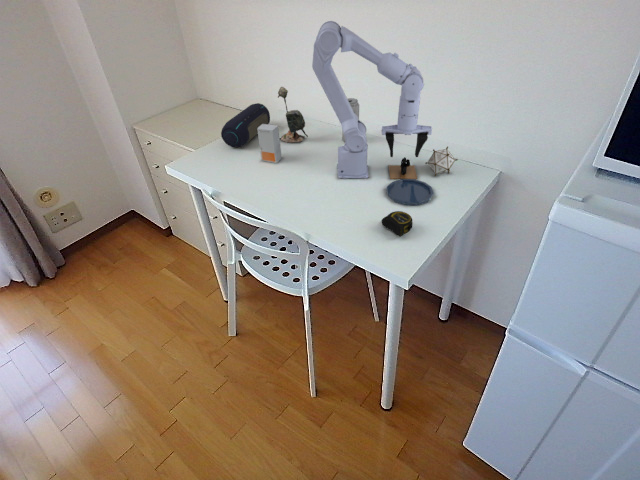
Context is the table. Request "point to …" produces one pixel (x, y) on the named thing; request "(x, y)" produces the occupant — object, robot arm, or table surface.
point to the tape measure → (398, 222)
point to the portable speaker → (245, 125)
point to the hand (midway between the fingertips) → (403, 155)
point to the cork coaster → (396, 173)
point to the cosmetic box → (269, 143)
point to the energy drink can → (355, 109)
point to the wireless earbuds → (404, 165)
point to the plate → (409, 192)
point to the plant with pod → (292, 122)
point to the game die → (441, 161)
